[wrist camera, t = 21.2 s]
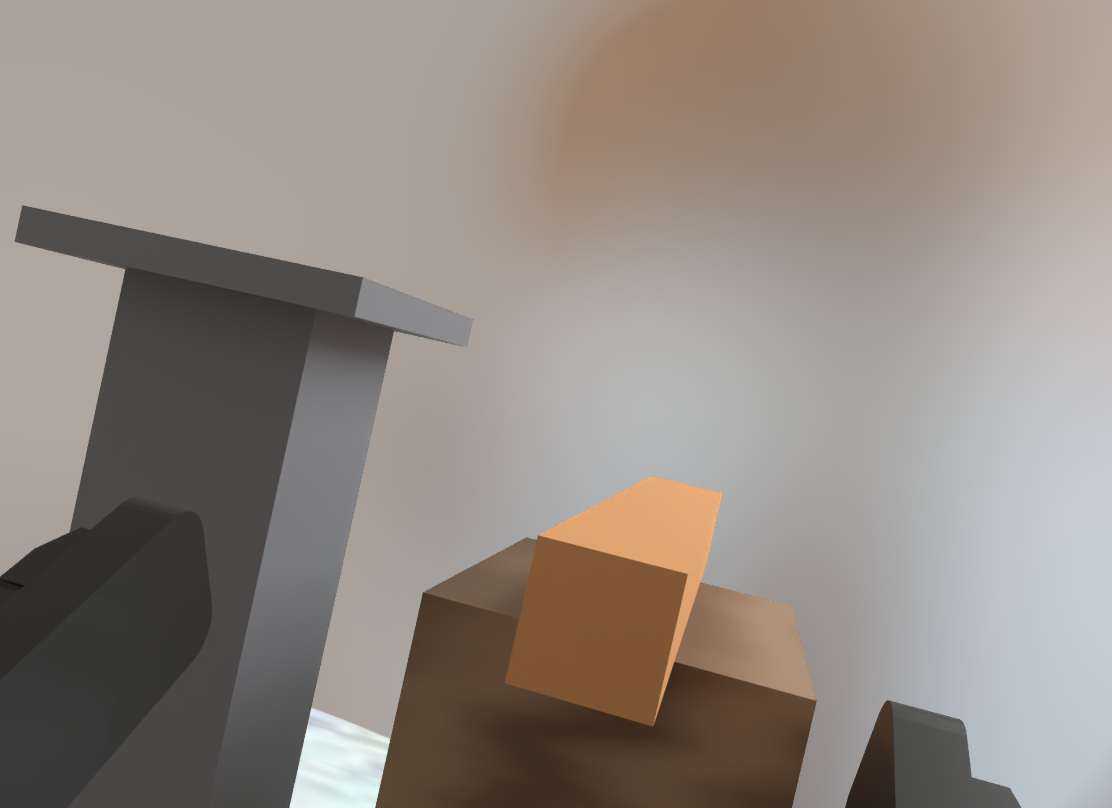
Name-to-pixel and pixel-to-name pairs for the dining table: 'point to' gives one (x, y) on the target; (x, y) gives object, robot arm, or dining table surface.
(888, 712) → the robot arm
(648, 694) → the block
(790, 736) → the tan upright box
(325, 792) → the dining table surface
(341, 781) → the dining table surface
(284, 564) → the tall stand
